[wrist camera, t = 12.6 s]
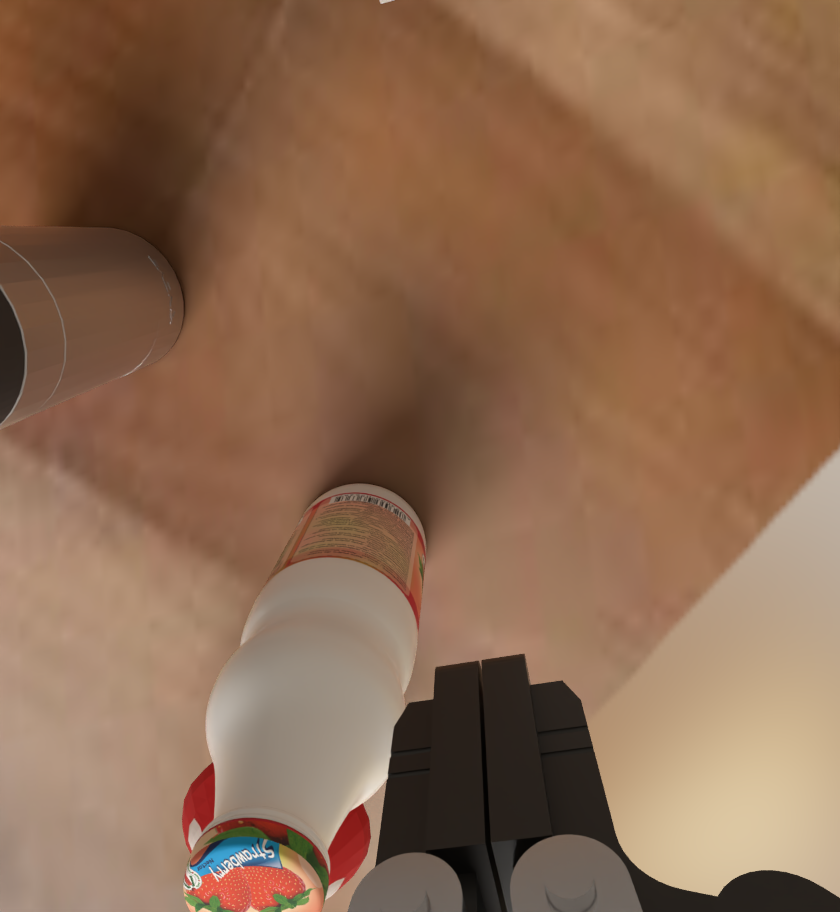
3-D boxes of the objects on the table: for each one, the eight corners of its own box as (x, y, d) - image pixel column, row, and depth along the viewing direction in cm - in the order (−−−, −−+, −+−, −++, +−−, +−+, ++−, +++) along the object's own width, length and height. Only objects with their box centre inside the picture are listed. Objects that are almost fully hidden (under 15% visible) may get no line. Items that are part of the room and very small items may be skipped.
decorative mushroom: (328, 845, 59) (286, 1041, 44) (187, 772, 57) (97, 952, 43) (413, 735, 55) (396, 914, 40) (263, 654, 53) (192, 810, 39)
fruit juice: (388, 457, 47) (296, 748, 21) (450, 565, 49) (439, 951, 23) (275, 513, 49) (57, 847, 22) (340, 615, 51) (213, 1025, 25)
